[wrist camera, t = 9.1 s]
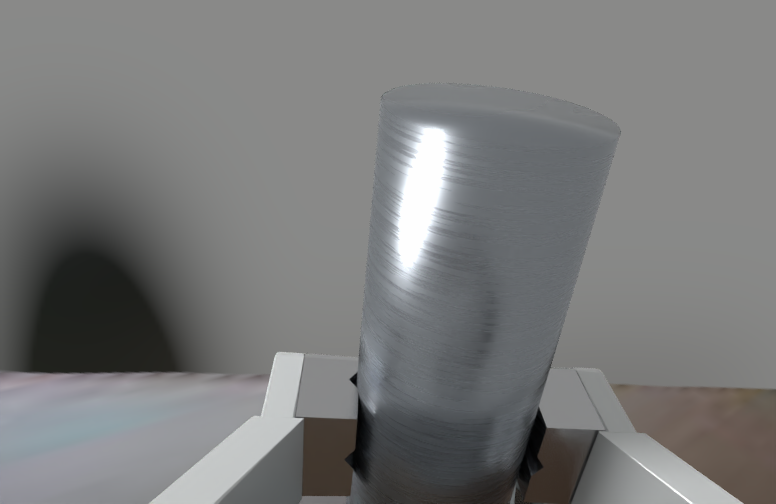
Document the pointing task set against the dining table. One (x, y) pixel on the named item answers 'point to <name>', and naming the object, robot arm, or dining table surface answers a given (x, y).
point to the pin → (468, 283)
